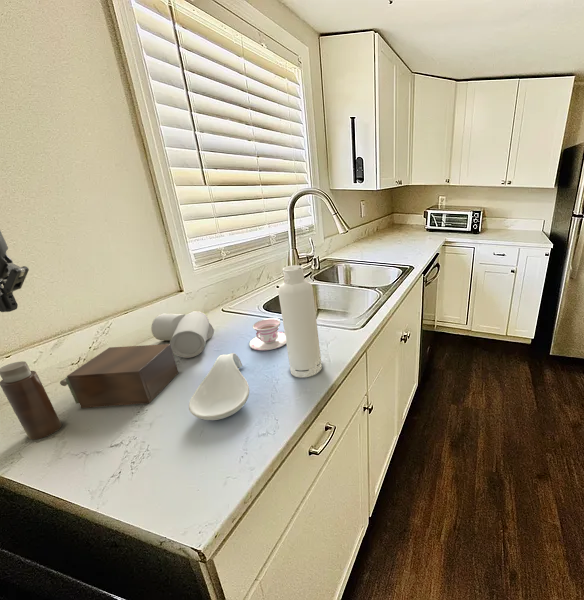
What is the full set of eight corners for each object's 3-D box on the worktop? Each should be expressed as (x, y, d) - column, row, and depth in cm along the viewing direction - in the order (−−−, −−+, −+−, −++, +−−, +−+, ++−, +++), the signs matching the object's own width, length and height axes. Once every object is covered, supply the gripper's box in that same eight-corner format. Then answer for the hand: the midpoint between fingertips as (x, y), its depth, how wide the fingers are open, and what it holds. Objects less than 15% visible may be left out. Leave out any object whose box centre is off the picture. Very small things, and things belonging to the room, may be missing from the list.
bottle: (285, 369, 87) (268, 268, 77) (311, 357, 93) (299, 261, 82) (300, 381, 82) (284, 274, 72) (327, 368, 87) (316, 267, 77)
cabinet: (81, 408, 73) (66, 376, 70) (120, 376, 85) (109, 347, 82) (149, 403, 75) (138, 371, 72) (178, 372, 86) (170, 343, 83)
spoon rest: (250, 421, 69) (244, 392, 66) (187, 436, 65) (177, 406, 62) (255, 364, 90) (250, 341, 87) (207, 373, 86) (201, 349, 83)
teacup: (266, 331, 109) (263, 314, 106) (297, 335, 106) (295, 318, 103) (240, 348, 98) (236, 330, 96) (275, 353, 95) (271, 334, 93)
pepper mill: (21, 440, 65) (-16, 374, 59) (43, 423, 69) (11, 360, 63) (47, 438, 65) (13, 372, 59) (68, 421, 69) (38, 358, 64)
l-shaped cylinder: (235, 328, 108) (179, 326, 110) (224, 302, 102) (166, 300, 104) (203, 367, 93) (140, 363, 96) (188, 339, 88) (121, 336, 90)
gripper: (25, 226, 68) (57, 302, 74) (-45, 228, 67) (-6, 305, 73) (-14, 232, 61) (25, 316, 67) (-93, 234, 60) (-45, 319, 66)
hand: (9, 310), depth 70 cm, fingers closed
